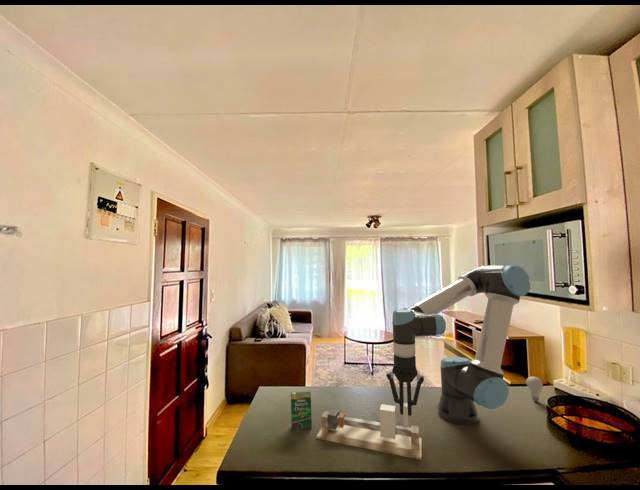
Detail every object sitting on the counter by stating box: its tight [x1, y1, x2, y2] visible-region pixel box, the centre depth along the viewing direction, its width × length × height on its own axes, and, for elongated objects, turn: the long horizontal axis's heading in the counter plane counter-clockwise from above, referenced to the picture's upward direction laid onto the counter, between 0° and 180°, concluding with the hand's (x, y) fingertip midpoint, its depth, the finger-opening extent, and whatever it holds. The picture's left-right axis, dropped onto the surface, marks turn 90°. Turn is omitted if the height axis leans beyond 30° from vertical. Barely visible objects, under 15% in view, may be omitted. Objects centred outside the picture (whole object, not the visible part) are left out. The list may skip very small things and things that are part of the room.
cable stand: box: [316, 408, 423, 461], centre depth 105 cm, size 36×11×7 cm, turn 70°
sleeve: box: [379, 403, 397, 439], centre depth 103 cm, size 5×4×9 cm
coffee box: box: [290, 391, 313, 431], centre depth 113 cm, size 8×3×13 cm, turn 93°
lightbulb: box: [525, 376, 544, 402], centre depth 133 cm, size 6×6×11 cm
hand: (406, 424), depth 101 cm, fingers closed
